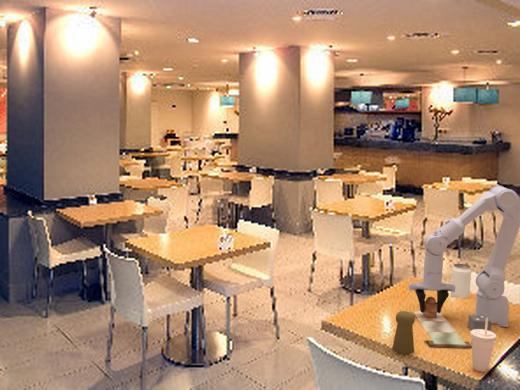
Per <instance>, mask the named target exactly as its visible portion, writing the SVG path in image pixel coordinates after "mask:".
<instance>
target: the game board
mask: <svg viewBox="0 0 520 390" xmlns="http://www.w3.org/2000/svg"><path fill="white" fill-rule="evenodd" d="M413 315H414V316H416V317H415V318H417V319H418V321H419V323H420V324H421V325H422V327H423V328H424V330H425V332H427V335H428V336H429V338H430V339H431V340H427V339H426V340H425V343H426V345H428V347H429V348H442V349H443V348H444V349H445V348H446V349H447V348H448V349H468V348H472V343H470V341H464V340H463V338H462V337H461V336H460V335H459V334H458V333H457V331H456V330H455V328H454V327H453V326H452V325H451V324H450V322H449V321H448V320H447V319H446V317H445V316H444V315H443V313H442V312H440V313H438V312H437V317H436V318H426V317H424V316H423V313H422V312H421V311H420V310H413ZM468 350H469V349H468Z"/></svg>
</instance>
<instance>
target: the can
mask: <svg viewBox="0 0 520 390" xmlns="http://www.w3.org/2000/svg"><path fill="white" fill-rule="evenodd" d="M471 277H472V270H471V266H470V265H469V264H465V263H455V264H453V267H452V269H451V282H450V284H453V285H455V286H456V287H455V292H451V291H450V297H451V298H459V299H465V298H466V299H469V298H470V292H471V291H470V290H471V279H472V278H471Z"/></svg>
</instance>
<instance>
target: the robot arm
mask: <svg viewBox="0 0 520 390" xmlns="http://www.w3.org/2000/svg"><path fill="white" fill-rule="evenodd" d="M487 211H499V213H500V214H501V216H502V221H501V224H500V226H499V230H498V232H497V236H496V239H495V242H494V244H493V247H492V249H491V253H490V255H489V257H488V262H487V263H486V264H485V265H483V267H482V270H480V272H479V274H477V276H476V278H475V284H476V286H477V288H478V290H477V291H476V301H475V312H474V315H480V316H486V317H487V318H488V319H489V320H490V321H491V324H497V325H498V326H499V327H501V328H502V327H505V328H508V327H509V323H508V322H509V314H510V313H509V312H510V303H509V299H508V297H507V296H505V295H503V294H504V293H505V280H506V274H505V269H506V266H507V264H508V261H509V258H510V255H511V253H512V250H513V247H514V245H515V242H516V239H517V236H518V233H519V230H520V196H519V195H518V193H517V192H516V191H515V190H513V189H511V188H507V187H504V186H503V185H495V186H492V187H490V189H489V190H487V191H485V192H484V193H483V194H482V195H481V196H480V197H479V198H478V199H477V200H476V201H475V202H474V203H473V204H472V205H470V206H469V207H468V208H467V209H466V210H465V211H463V213H462V214H460V215H459V216H458V217H456V218H454V217H453V218H452V217H451V218H450V219H445V221H444V224H443V225H441V226H440V227H439V228H438V229H437V230H436V229H434V230H433V233H430V234H428V235H427V236H426V237H425V239H424V241H423V245H424V248H425V253H424V261H423V262H424V264H423V275H422V276H423V277H422V282H421V281H420V282H409V283H408V288H407V289H408V290H409V291H410V292H411V291H414V292H415V295H416V297H417V300H418V302H419V311H421V312H422V313H424V302H425V301H426V295H427V294H426V293H425V291H430V292H431V291H432V292H436V302H437V312H438V313H440V312H441V311H442V309H443V306H444V304H445V303H446V301H447V299H448V297H449V294H450V293H451V292H455V287H456V286H455V285H453V284H451V283H443V281H442V279H443V267H444V253H445V252H446V250H447V248H448V245H451V243H453V241H455V240H456V239H457V238H459V237H460V236H461V235H462V234H463V233H465V229H466V226H467V225H468V224H471V222H473V221H474V220H475V219H476V218H478V217H479V216H481V215H482V214H484V213H485V212H487ZM441 313H442V312H441Z"/></svg>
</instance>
